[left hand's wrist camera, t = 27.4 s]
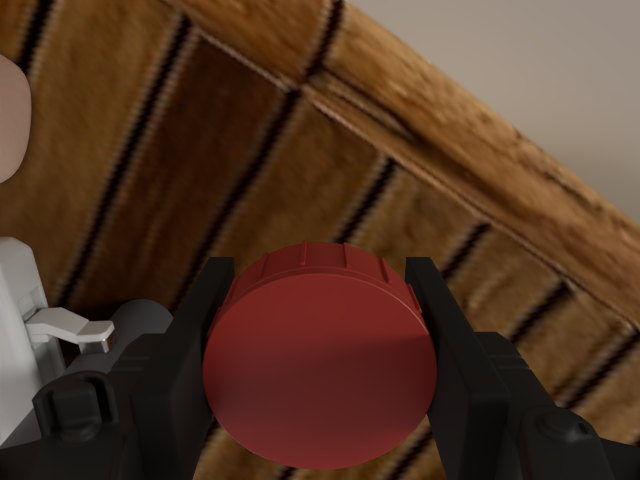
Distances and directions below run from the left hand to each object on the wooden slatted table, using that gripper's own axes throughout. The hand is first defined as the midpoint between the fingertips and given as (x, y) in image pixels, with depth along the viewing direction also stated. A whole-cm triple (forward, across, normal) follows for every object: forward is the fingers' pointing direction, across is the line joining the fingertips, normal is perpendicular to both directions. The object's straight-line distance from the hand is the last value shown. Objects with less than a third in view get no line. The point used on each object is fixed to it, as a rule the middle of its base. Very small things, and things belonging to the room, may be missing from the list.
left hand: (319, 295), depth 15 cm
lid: (-4, 0, 0) cm, 4 cm away
